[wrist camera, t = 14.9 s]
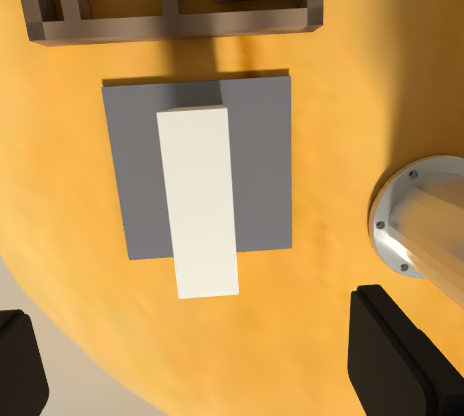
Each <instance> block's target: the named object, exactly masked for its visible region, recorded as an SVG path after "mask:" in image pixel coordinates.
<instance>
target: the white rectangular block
mask: <svg viewBox="0 0 464 416" xmlns="http://www.w3.org/2000/svg"><path fill="white" fill-rule="evenodd" d="M157 121H158V130H159V138H160V146H161V155H162V163H163V171H164V179H165V188H166V196H167V204H168V212H169V221H170V229H171V237H172V246H173V254H174V262H175V270H176V279H177V287H178V295H179V299H185V298H197V297H210V296H223V295H235V294H239V289H238V273H237V257H236V241H235V225H234V209H233V193H232V176H231V160H230V144H229V128H228V112H227V108H226V107H225V106H224V105H210V106H194V107H179V108H173V109H169V110H165V111H161V112H158V113H157Z"/></svg>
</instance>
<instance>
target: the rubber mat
mask: <svg viewBox="0 0 464 416" xmlns="http://www.w3.org/2000/svg"><path fill="white" fill-rule="evenodd" d="M101 88H102V94H103V100H104V106H105V113H106V119H107V125H108V131H109V138H110V144H111V150H112V156H113V163H114V169H115V175H116V181H117V188H118V194H119V200H120V206H121V213H122V219H123V225H124V231H125V238H126V244H127V250H128V256H129V260H138V259H152V258H165V257H174V254H173V246H172V237H171V229H170V221H169V212H168V204H167V196H166V188H165V179H164V171H163V163H162V155H161V146H160V138H159V130H158V121H157V113H158V112H161V111H165V110H169V109H173V108H179V107H194V106H210V105H224V106H225V107H226V108H227V112H228V128H229V144H230V160H231V176H232V193H233V209H234V225H235V241H236V252H247V251H261V250H274V249H288V248H292V200H291V76H281V77H264V78H247V79H230V80H213V81H196V82H179V83H162V84H145V85H128V86H111V87H101Z"/></svg>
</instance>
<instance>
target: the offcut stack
mask: <svg viewBox="0 0 464 416" xmlns="http://www.w3.org/2000/svg"><path fill="white" fill-rule="evenodd" d="M226 1H245V0H215V2H226Z"/></svg>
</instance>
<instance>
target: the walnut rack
mask: <svg viewBox="0 0 464 416" xmlns="http://www.w3.org/2000/svg"><path fill="white" fill-rule="evenodd" d="M21 3H22V8H23V13H24V18H25V22H26V27H27V32H28V37H29V41H31V42H34V43H38V44H41V45H44V46H47V47H49V46H67V45H85V44H103V43H121V42H140V41H158V40H176V39H194V38H212V37H230V36H248V35H266V34H284V33H302V32H313V31H315V30H316V29H318V28H319V27H321V26H322V25H323V0H298V9H279V10H260V11H242V12H223V13H204V14H185V15H182V12H181V1H180V0H161V3H162V13H163V16H148V17H129V18H110V19H93V18H92V11H91V5H90V0H61V5H62V11H63V16H64V21H58V19H57V14H56V9H55V3H54V0H21Z"/></svg>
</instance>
